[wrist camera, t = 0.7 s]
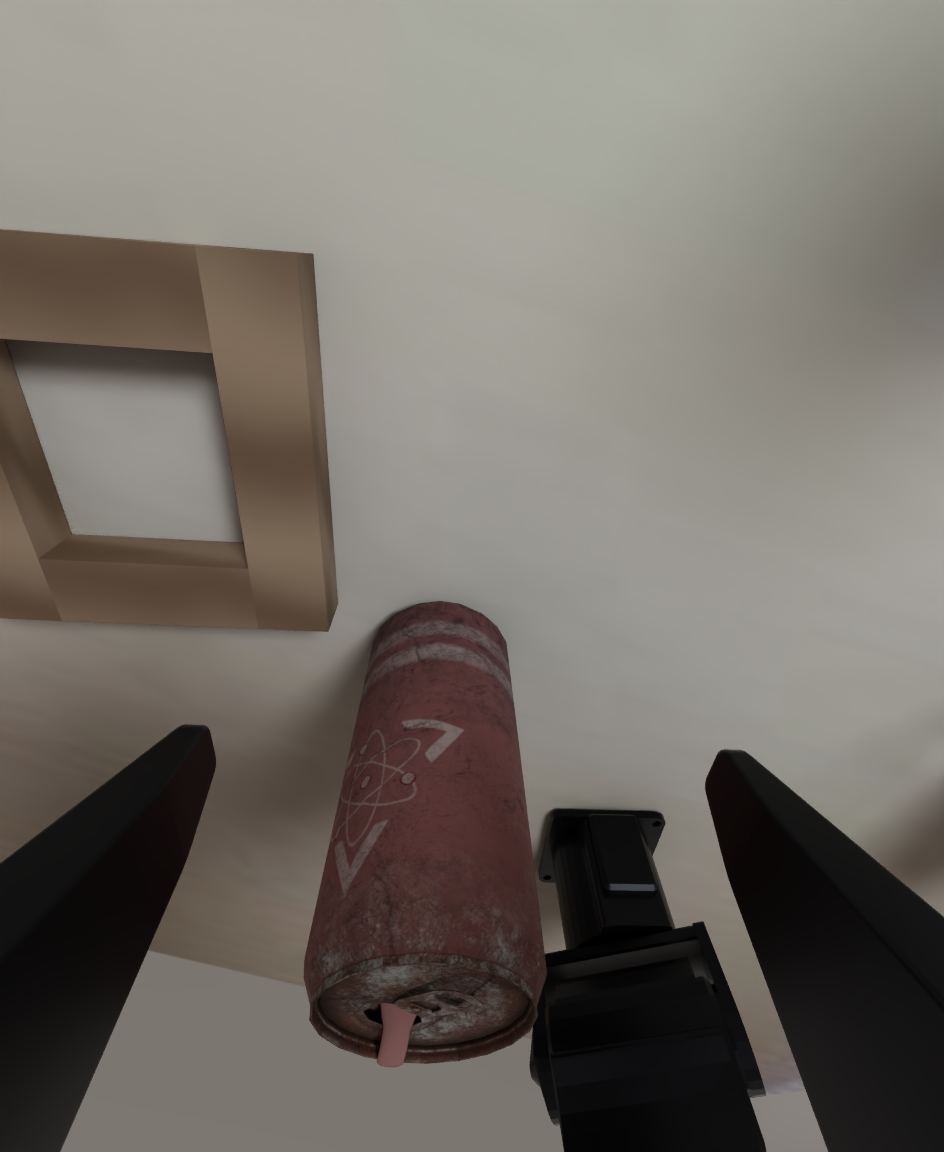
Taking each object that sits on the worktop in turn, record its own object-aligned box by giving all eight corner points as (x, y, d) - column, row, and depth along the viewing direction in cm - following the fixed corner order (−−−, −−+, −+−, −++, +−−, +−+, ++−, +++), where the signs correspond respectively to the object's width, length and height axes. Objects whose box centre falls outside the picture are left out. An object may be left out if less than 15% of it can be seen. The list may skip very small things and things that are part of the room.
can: (366, 695, 26) (289, 1073, 14) (381, 585, 23) (297, 952, 11) (489, 711, 27) (515, 1083, 15) (520, 606, 24) (585, 972, 12)
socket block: (337, 603, 23) (328, 631, 22) (23, 589, 23) (-12, 617, 21) (313, 253, 17) (296, 253, 15) (-133, 218, 16) (-203, 215, 14)
